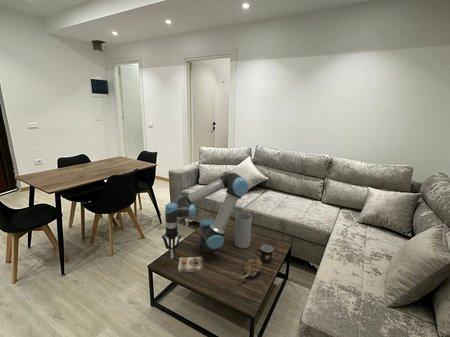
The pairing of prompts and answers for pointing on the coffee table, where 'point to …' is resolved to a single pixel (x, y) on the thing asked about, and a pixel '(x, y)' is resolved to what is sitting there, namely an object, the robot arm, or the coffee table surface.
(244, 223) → the cylinder vase
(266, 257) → the coffee mug
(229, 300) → the coffee table surface
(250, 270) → the dried lotus pod
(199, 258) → the block
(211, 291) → the coffee table surface
